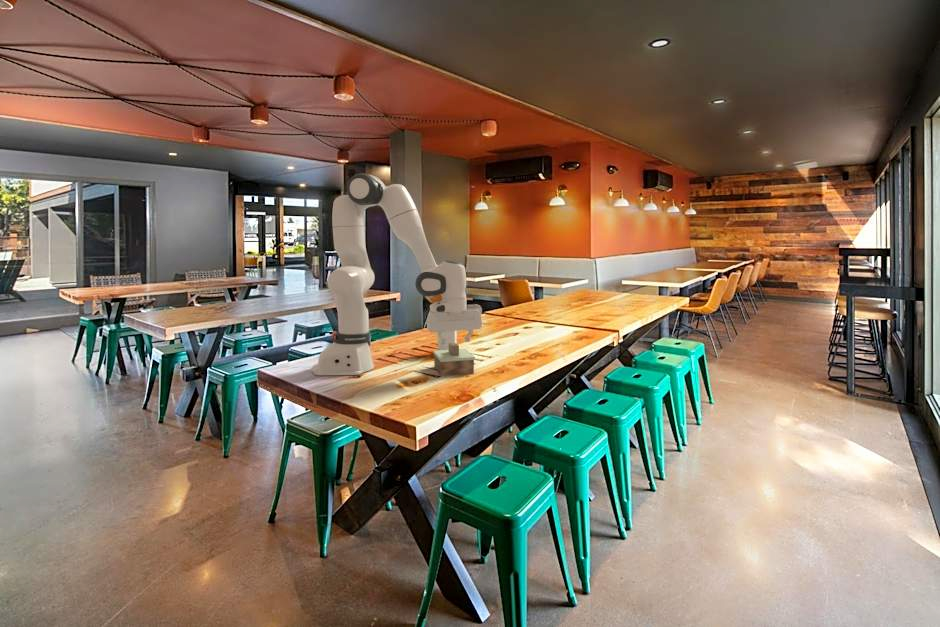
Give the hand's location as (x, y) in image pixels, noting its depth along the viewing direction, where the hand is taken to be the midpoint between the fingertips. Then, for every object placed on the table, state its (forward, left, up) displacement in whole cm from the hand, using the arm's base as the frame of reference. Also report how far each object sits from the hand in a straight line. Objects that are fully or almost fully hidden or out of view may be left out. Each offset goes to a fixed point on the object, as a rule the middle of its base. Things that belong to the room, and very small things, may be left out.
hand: (455, 342), depth 180 cm
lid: (0, 0, -5) cm, 5 cm away
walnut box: (0, 0, -11) cm, 11 cm away
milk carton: (+4, +26, -12) cm, 29 cm away
